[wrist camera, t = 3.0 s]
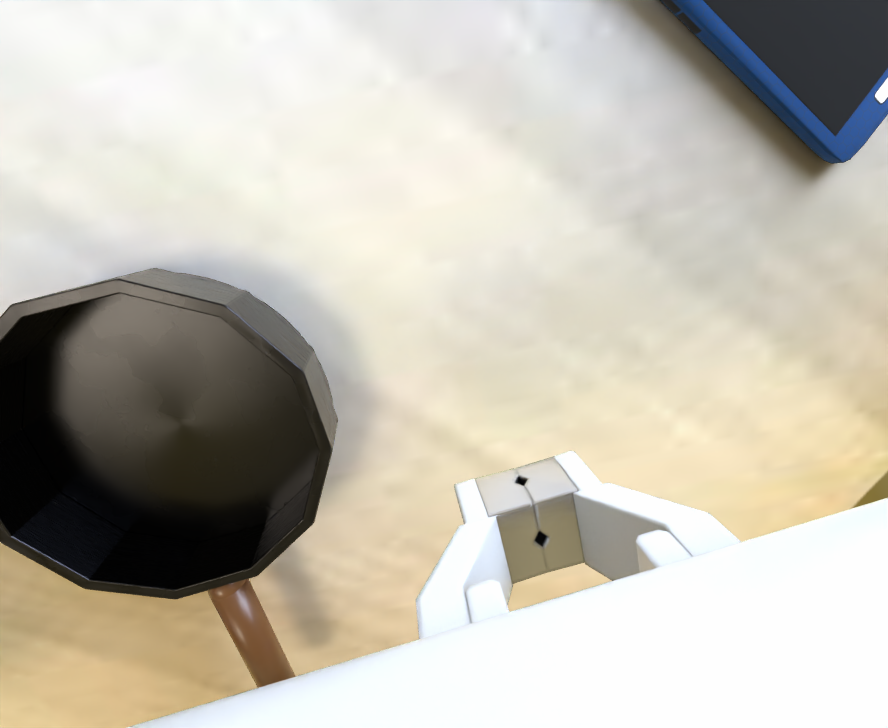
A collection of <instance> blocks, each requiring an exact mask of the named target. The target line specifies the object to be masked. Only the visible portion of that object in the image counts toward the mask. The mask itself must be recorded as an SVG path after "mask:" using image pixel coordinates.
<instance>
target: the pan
mask: <svg viewBox="0 0 888 728" xmlns="http://www.w3.org/2000/svg"><path fill="white" fill-rule="evenodd" d="M337 422H338V418H337V415H336V412H335V409H334V407H333V402H332V396H331V392H330V388H329V385H328V381H327V378H326V376H325V374H324V371H323V369H322V367H321V364H320V362H319V361H318V359H317V357H316V355H315V352H314V350H313V348H312V347H311V346H310V345H308V343H307V342H306V341H305V340H304V338H303V337H302V336H301V335H300V333H299V332H298V331H297V330H296V329H295V328H294V327H293V326H292V325H291V324H290V323H289V322H288V321H287V320H286V319H285V318H284V317H283V316H281V315H280V314H279V313H277V312H276V311H275V310H274V309H272V308H271V307H270V306H268V305H267V304H265V303H264V302H262V301H260V300H259V299H257V298H255V297H254V296H252V295H251V294H250V293H249V292H247V291H244V290H240V289H238V288H235V287H233V286H231V285H229V284H226V283H222V282H219V281H216V280H213V279H210V278H206V277H201V276H196V275H191V274H186V273H174V272H170V271H166V270H162V269H158V268H153V269H149V270H145V271H141V272H137V273H133V274H129V275H125V276H121V277H116V278H113V279H109V280H105V281H101V282H97V283H93V284H89V285H85V286H81V287H77V288H73V289H69V290H65V291H61V292H57V293H53V294H49V295H45V296H42V297H38V298H34V299H30V300H26V301H22V302H19V303H15V304H12V305H10V306H9V308H8V309H7V310H6V311H5V312H4V313H3V314H2V316H1V317H0V542H1V543H2V544H4V545H6V546H8V547H10V548H11V549H13V550H15V551H17V552H19V553H20V554H22V555H24V556H26V557H28V558H30V559H31V560H33V561H35V562H37V563H39V564H40V565H42V566H44V567H46V568H48V569H49V570H51V571H53V572H55V573H57V574H58V575H60V576H62V577H64V578H66V579H68V580H69V581H71V582H73V583H75V584H77V585H78V586H80V587H82V588H85V589H90V590H98V591H107V592H116V593H124V594H133V595H142V596H150V597H159V598H168V599H179V598H183V597H186V596H190V595H193V594H196V593H200V592H203V591H207V590H208V593H209V596H210V598H211V600H212V602H213V604H214V606H215V608H216V609H217V611H218V613H219V615H220V617H221V619H222V621H223V623H224V625H225V627H226V628H227V630H228V632H229V634H230V636H231V638H232V640H233V642H234V644H235V645H236V647H237V649H238V651H239V653H240V655H241V657H242V659H243V661H244V662H245V664H246V666H247V668H248V670H249V672H250V674H251V676H252V678H253V680H254V681H255V683H256V685H257V687H258V688H259V687H262V686H266V685H269V684H272V683H276V682H279V681H282V680H286V679H289V678H292V677H295V674H294V672H293V670H292V668H291V666H290V664H289V662H288V660H287V658H286V656H285V654H284V652H283V650H282V648H281V646H280V643H279V641H278V639H277V637H276V635H275V633H274V631H273V629H272V627H271V625H270V623H269V621H268V619H267V617H266V615H265V612H264V610H263V608H262V606H261V604H260V602H259V600H258V598H257V596H256V594H255V592H254V590H253V588H252V586H251V583H250V581H249V579H248V578H252V577H255V576H257V575H259V574H260V573H261V572H262V571H263V570H264V569H265V568H266V567H267V566H268V565H270V564H271V563H272V562H273V561H274V560H275V559H276V558H277V557H278V556H279V555H280V554H281V553H282V552H283V551H285V550H286V549H287V548H288V547H289V546H290V545H291V544H292V543H293V542H294V541H295V540H296V539H297V538H298V537H300V536H301V535H302V534H303V533H304V532H305V531H306V530H307V529H308V528H309V527H310V526H311V525H312V524H313V523H314V521H315V517H316V513H317V509H318V505H319V501H320V497H321V494H322V490H323V486H324V482H325V478H326V474H327V470H328V466H329V462H330V458H331V454H332V450H333V444H334V439H335V433H336V428H337Z"/></svg>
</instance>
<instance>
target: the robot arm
mask: <svg viewBox="0 0 888 728" xmlns="http://www.w3.org/2000/svg"><path fill="white" fill-rule="evenodd" d="M454 488H455V492H456V496H457V500H458V503H459V507H460V511H461V514H462V518H463V522H464V525H461V526H459V527H458V528H457V530H456V532H455V534H454V535H453V537H452V539H451V540H450V542H449V544H448V546H447V547H446V549H445V551H444V552H443V554H442V556H441V557H440V559H439V561H438V563H437V564H436V566H435V568H434V569H433V571H432V573H431V575H430V576H429V578H428V580H427V581H426V583H425V585H424V587H423V588H422V590H421V592H420V593H419V595H418V597H417V599H416V607H417V619H418V630H419V639H418V640H415V641H412V642H408V643H405V644H402V645H398V646H395V647H392V648H388V649H385V650H382V651H379V652H375V653H372V654H369V655H365V656H362V657H359V658H355V659H352V660H349V661H345V662H342V663H339V664H335V665H332V666H329V667H325V668H322V669H319V670H316V671H312V672H309V673H306V674H302V675H299V676H296V677H292V678H289V679H286V680H282V681H279V682H276V683H272V684H269V685H266V686H262V687H259V688H256V689H253V690H249V691H246V692H243V693H239V694H236V695H233V696H229V697H226V698H223V699H219V700H216V701H213V702H209V703H206V704H203V705H200V706H196V707H193V708H190V709H186V710H183V711H180V712H176V713H173V714H170V715H166V716H163V717H160V718H157V719H153V720H150V721H147V722H143V723H140V724H137V725H133V726H130V727H127V728H888V498H886V499H882V500H879V501H876V502H873V503H869V504H866V505H863V506H859V507H856V508H853V509H849V510H846V511H843V512H839V513H836V514H833V515H829V516H826V517H823V518H819V519H816V520H813V521H809V522H806V523H803V524H799V525H796V526H793V527H789V528H786V529H783V530H780V531H776V532H773V533H770V534H766V535H763V536H760V537H756V538H753V539H750V540H746V541H743V542H741V541H740V540H738V539H737V538H736V537H735V536H734V535H733V534H732V533H731V532H729V531H728V530H727V529H726V528H725V527H724V526H723V525H722V524H721V523H719V522H718V521H717V520H716V519H715V518H714V517H713V516H712V515H710V514H709V513H707V512H703V511H700V510H697V509H693V508H690V507H687V506H683V505H680V504H677V503H674V502H670V501H667V500H664V499H660V498H657V497H654V496H650V495H647V494H644V493H640V492H637V491H634V490H630V489H627V488H624V487H621V486H617V485H614V484H611V483H606V484H602V483H601V482H600V481H599V480H598V479H597V477H596V476H595V475H594V474H593V473H592V472H591V470H590V469H589V468H588V467H587V466H586V465H585V463H584V462H583V461H582V460H581V459H580V458H579V456H578V455H577V454H576V453H575V452H574V451H568V452H565V453H562V454H559V455H556V456H553V457H550V458H547V459H544V460H541V461H537V462H534V463H531V464H528V465H525V466H522V467H518V468H515V469H514V468H513V469H509V470H505V471H501V472H498V473H494V474H490V475H486V476H482V477H479V478H475V480H474V479H470V480H467V481H464V482H460V483H457V484H454ZM584 562H585V564H586V565H588V566H589V567H591V568H593V569H594V570H596V571H597V572H599V573H601V574H602V575H604V576H606V577H607V578H609V579H610V580H612V581H611V582H607V583H604V584H601V585H597V586H594V587H591V588H587V589H584V590H581V591H577V592H574V593H571V594H568V595H564V596H561V597H558V598H554V599H551V600H548V601H544V602H541V603H538V604H534V605H531V606H528V607H524V608H521V609H518V610H514V611H511V612H509V610H508V607H507V605H508V602H509V598H510V595H511V591H512V587H513V585H512V584H514V583H517V582H520V581H523V580H526V579H529V578H532V577H535V576H538V575H541V574H544V573H547V572H551V571H554V570H558V569H562V568H566V567H569V566H573V565H577V564H581V563H584Z"/></svg>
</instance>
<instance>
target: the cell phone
mask: <svg viewBox="0 0 888 728" xmlns="http://www.w3.org/2000/svg"><path fill="white" fill-rule="evenodd" d="M660 1H661V2H662V3H663V4H664V5H665V6H666V7H667V8H668V9H669V10H670V11H671V12H672V13H673V14H674V15H675V16H676V17H677V18H678V19H679V20H680V21H682V22H683V23H684V24H685V25H686V26H687V27H688V28H689V29H690V30H691V31H692V32H693V33H694V34H695V35H696V36H697V37H698V38H699V39H700V40H701V41H702V42H703V43H704V44H705V45H706V46H707V47H708V48H709V49H710V50H711V51H712V52H713V53H714V54H715V55H716V56H717V57H718V58H719V59H720V60H721V61H722V62H723V63H724V64H725V65H726V66H727V67H728V68H729V69H730V70H731V71H732V72H733V73H734V74H735V75H736V76H737V77H738V78H739V79H740V80H741V81H742V82H743V83H744V84H745V85H746V86H747V87H748V88H750V89H751V90H752V91H753V92H754V93H755V94H756V95H757V96H758V97H759V98H760V99H761V100H762V101H763V102H764V103H765V104H766V105H767V106H768V107H769V108H770V109H771V110H772V111H773V112H774V113H775V114H776V115H777V116H778V117H779V118H780V119H781V120H782V121H783V122H784V123H785V124H786V125H787V126H788V127H789V128H790V129H791V130H792V131H793V132H794V133H795V134H796V135H797V136H798V137H799V138H800V139H801V140H802V141H803V142H804V143H805V144H806V145H807V146H808V147H809V148H810V149H811V150H813V151H814V152H815V153H816V154H817V155H818V156H820V157H821V158H822V159H823V160H824V161H827V162H829V163H832V164H833V163H843V162H846V161H848V160H850V159H851V158H852V157H853V156H854V155H855V154H856V153H857V152H858V151H859V149H860V148H861V147H862V146H863V145H864V144H865V143H866V141H867V140H868V139H869V137H870V136H871V135H872V134H873V132H874V131H875V130H876V128H877V127H878V126H879V125H880V123H881V122H882V121H883V119H884V118H885V117H886V116H887V114H888V0H660Z"/></svg>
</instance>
